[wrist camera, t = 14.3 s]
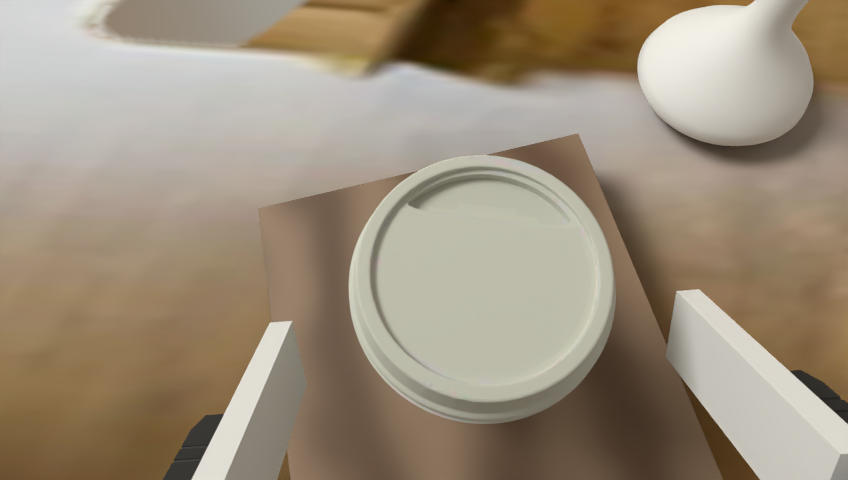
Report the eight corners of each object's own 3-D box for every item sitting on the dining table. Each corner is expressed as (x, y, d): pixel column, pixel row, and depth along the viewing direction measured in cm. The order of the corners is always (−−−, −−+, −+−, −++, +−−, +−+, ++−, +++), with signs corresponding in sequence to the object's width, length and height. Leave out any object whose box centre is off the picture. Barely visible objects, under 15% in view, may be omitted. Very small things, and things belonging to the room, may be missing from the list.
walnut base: (327, 573, 25) (305, 602, 21) (280, 232, 32) (258, 208, 28) (686, 478, 25) (727, 489, 22) (563, 166, 32) (578, 133, 28)
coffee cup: (580, 322, 24) (693, 247, 13) (480, 457, 22) (513, 503, 11) (455, 227, 27) (460, 93, 15) (354, 342, 25) (275, 285, 13)
